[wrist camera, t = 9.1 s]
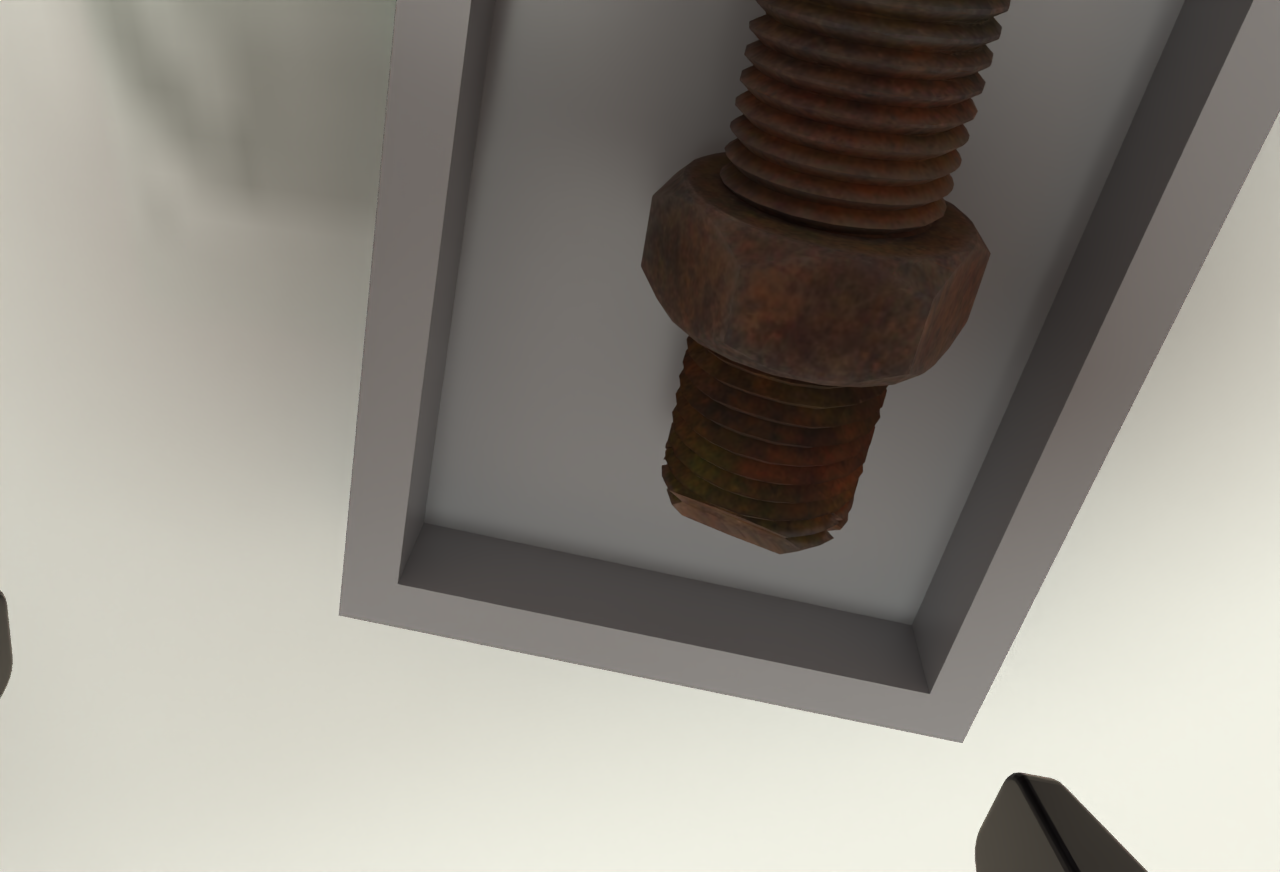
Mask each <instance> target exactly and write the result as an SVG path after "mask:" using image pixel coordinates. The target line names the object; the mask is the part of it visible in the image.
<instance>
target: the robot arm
mask: <svg viewBox="0 0 1280 872" xmlns="http://www.w3.org/2000/svg"><path fill="white" fill-rule="evenodd" d="M12 664H13V657H12V647H11V638H10V629H9V619H8V610H7V603H6V598H5V596H4V594H3V593H2V592H1V591H0V698H1V696H2V694H3V692H4V690H5V688H6V686H7V684H8V681H9V679H10V675H11V671H12ZM975 863H976V872H1148V871H1147V870H1146V869H1145V868H1144V867H1143V866H1142V865H1141V864H1140V863H1139V862H1138V861H1137V860H1136V859H1135V858H1134V857H1133V856H1132V855H1131V854H1130V853H1129V852H1128V851H1127V850H1126V849H1125V848H1124V847H1123V846H1122V845H1121V844H1120V843H1119V842H1118V841H1117V840H1116V839H1115V838H1114V836H1113V835H1112V834H1111V833H1110V832H1109V831H1108V830H1107V829H1106V828H1105V827H1104V826H1103V825H1102V824H1101V823H1100V822H1099V821H1098V820H1097V819H1096V818H1095V817H1094V816H1093V815H1092V814H1091V813H1090V812H1089V811H1088V810H1087V809H1086V808H1085V807H1084V806H1083V805H1082V804H1081V803H1080V802H1079V801H1078V800H1077V798H1076V797H1075V796H1074V795H1073V794H1072V793H1071V792H1070V791H1069V790H1068V789H1067V788H1066V787H1065V786H1064V785H1062V784H1061V783H1060V782H1059V781H1057V780H1055V779H1052V778H1048V777H1042V776H1037V775H1031V774H1026V773H1013V774H1012V775H1010V776H1009V777H1008V778H1007V779H1006V780H1005V782H1004V783H1003V785H1002V787H1001V789H1000V791H999V793H998V795H997V797H996V799H995V801H994V803H993V805H992V807H991V808H990V810H989V812H988V814H987V816H986V818H985V820H984V822H983V824H982V826H981V828H980V830H979V833H978V836H977V840H976V846H975Z"/></svg>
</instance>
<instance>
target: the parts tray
mask: <svg viewBox="0 0 1280 872" xmlns="http://www.w3.org/2000/svg"><path fill="white" fill-rule="evenodd" d="M763 15H766V12H765V11H764V9H763V8H762V7H761V6H760V5H759V4H758V3H757V2H756V1H755V0H396V9H395V20H394V30H393V41H392V52H391V63H390V73H389V84H388V95H387V105H386V116H385V127H384V137H383V148H382V159H381V169H380V180H379V191H378V202H377V212H376V223H375V234H374V244H373V255H372V266H371V276H370V287H369V298H368V308H367V319H366V330H365V341H364V351H363V362H362V373H361V383H360V394H359V405H358V415H357V426H356V437H355V447H354V458H353V469H352V480H351V490H350V501H349V512H348V522H347V533H346V544H345V554H344V565H343V576H342V586H341V597H340V608H339V615H340V616H345V617H350V618H354V619H359V620H364V621H369V622H374V623H379V624H384V625H389V626H394V627H398V628H403V629H408V630H413V631H418V632H423V633H428V634H433V635H437V636H442V637H447V638H452V639H457V640H462V641H467V642H472V643H477V644H481V645H486V646H491V647H496V648H501V649H506V650H511V651H516V652H520V653H525V654H530V655H535V656H540V657H545V658H550V659H555V660H560V661H564V662H569V663H574V664H579V665H584V666H589V667H594V668H599V669H603V670H608V671H613V672H618V673H623V674H628V675H633V676H638V677H643V678H647V679H652V680H657V681H662V682H667V683H672V684H677V685H682V686H686V687H691V688H696V689H701V690H706V691H711V692H716V693H721V694H725V695H730V696H735V697H740V698H745V699H750V700H755V701H760V702H765V703H769V704H774V705H779V706H784V707H789V708H794V709H799V710H804V711H808V712H813V713H818V714H823V715H828V716H833V717H838V718H843V719H848V720H852V721H857V722H862V723H867V724H872V725H877V726H882V727H887V728H891V729H896V730H901V731H906V732H911V733H916V734H921V735H926V736H931V737H935V738H940V739H945V740H950V741H955V742H960V743H963V741H964V739H965V737H966V735H967V733H968V731H969V729H970V727H971V725H972V723H973V721H974V719H975V717H976V715H977V713H978V711H979V709H980V707H981V705H982V703H983V701H984V699H985V697H986V695H987V693H988V691H989V689H990V687H991V685H992V683H993V681H994V679H995V677H996V675H997V673H998V671H999V669H1000V667H1001V665H1002V663H1003V661H1004V659H1005V657H1006V655H1007V653H1008V651H1009V649H1010V647H1011V645H1012V643H1013V641H1014V639H1015V637H1016V635H1017V633H1018V631H1019V629H1020V627H1021V625H1022V623H1023V621H1024V619H1025V617H1026V615H1027V613H1028V611H1029V609H1030V607H1031V605H1032V603H1033V601H1034V599H1035V597H1036V595H1037V593H1038V591H1039V589H1040V587H1041V585H1042V583H1043V581H1044V579H1045V577H1046V575H1047V573H1048V571H1049V569H1050V567H1051V565H1052V563H1053V561H1054V559H1055V557H1056V555H1057V553H1058V552H1059V550H1060V548H1061V546H1062V544H1063V542H1064V540H1065V538H1066V536H1067V534H1068V532H1069V530H1070V528H1071V526H1072V524H1073V522H1074V520H1075V518H1076V516H1077V514H1078V512H1079V510H1080V508H1081V506H1082V504H1083V502H1084V500H1085V498H1086V496H1087V494H1088V492H1089V490H1090V488H1091V486H1092V484H1093V482H1094V480H1095V478H1096V476H1097V474H1098V472H1099V470H1100V468H1101V466H1102V464H1103V462H1104V460H1105V458H1106V456H1107V454H1108V452H1109V450H1110V448H1111V446H1112V444H1113V442H1114V440H1115V438H1116V436H1117V434H1118V432H1119V430H1120V428H1121V426H1122V424H1123V422H1124V420H1125V418H1126V416H1127V414H1128V412H1129V410H1130V408H1131V406H1132V404H1133V402H1134V400H1135V398H1136V396H1137V394H1138V392H1139V390H1140V388H1141V386H1142V384H1143V382H1144V380H1145V378H1146V376H1147V374H1148V372H1149V370H1150V368H1151V366H1152V364H1153V362H1154V360H1155V358H1156V356H1157V354H1158V352H1159V350H1160V348H1161V346H1162V344H1163V342H1164V340H1165V338H1166V336H1167V334H1168V332H1169V330H1170V328H1171V326H1172V324H1173V322H1174V321H1175V319H1176V317H1177V315H1178V313H1179V311H1180V309H1181V307H1182V305H1183V303H1184V301H1185V299H1186V297H1187V295H1188V293H1189V291H1190V289H1191V287H1192V285H1193V283H1194V281H1195V279H1196V277H1197V275H1198V273H1199V271H1200V269H1201V267H1202V265H1203V263H1204V261H1205V259H1206V257H1207V255H1208V253H1209V251H1210V249H1211V247H1212V245H1213V243H1214V241H1215V239H1216V237H1217V235H1218V233H1219V231H1220V229H1221V227H1222V225H1223V223H1224V221H1225V219H1226V217H1227V215H1228V213H1229V211H1230V209H1231V207H1232V205H1233V203H1234V201H1235V199H1236V197H1237V195H1238V193H1239V191H1240V189H1241V187H1242V185H1243V183H1244V181H1245V179H1246V177H1247V175H1248V173H1249V171H1250V169H1251V167H1252V165H1253V163H1254V161H1255V159H1256V157H1257V155H1258V153H1259V151H1260V149H1261V147H1262V145H1263V143H1264V141H1265V139H1266V137H1267V135H1268V133H1269V131H1270V129H1271V127H1272V125H1273V123H1274V121H1275V119H1276V117H1277V115H1278V113H1279V111H1280V0H1011V1H1010V7H1009V9H1008V11H1007V12H1004V13H1002V14H999V15H997V16H994V18H995V19H996V20H997V22H998V23H999V24H1000V25H1001V26H1002V30H1001V35H1000V38H999V39H998V40H996V41H993V42H991V43H988V44H986V45H987V47H988V48H989V49H990V50H991V51H992V52H993V59H992V63H991V66H990V67H988V68H986V69H984V70H981V71H979V72H978V73H979V74H980V75H981V77H982V78H983V79H984V81H985V82H986V83H985V86H984V89H983V91H982V94H979V95H977V96H974V97H972V98H971V99H972V100H973V102H974V104H975V106H976V108H977V110H978V112H977V114H976V116H975V117H974V119H973V120H971V121H969V122H967V123H964V124H963V125H964V126H965V127H966V129H967V130H968V133H969V135H970V136H969V140H968V142H967V143H966V144H964V145H963V146H961V147H959V148H957V149H956V150H957V151H958V152H959V154H960V156H961V159H962V161H961V165H960V167H959V168H958V169H957V170H956V171H954V172H952V173H950V175H951V177H952V179H953V182H954V186H953V190H952V191H951V192H950V193H949V194H948V195H947V196H945V197H943V199H944V200H946V201H948V202H950V203H952V204H953V205H955V206H956V207H957V208H958V209H959V210H960V211H962V212H963V213H964V214H965V215H966V216H967V217H968V218H969V219H970V220H971V221H972V222H973V224H974V225H975V227H976V229H977V231H978V232H979V234H980V236H981V237H982V239H983V241H984V243H985V244H986V246H987V248H988V249H989V251H990V253H991V254H990V257H989V260H988V263H987V266H986V269H985V272H984V275H983V278H982V281H981V283H980V286H979V289H978V292H977V295H976V298H975V301H974V304H973V307H972V310H971V313H970V315H969V318H968V321H967V323H966V324H965V326H964V327H963V329H962V330H961V332H960V333H959V335H958V336H957V337H956V339H955V340H954V342H953V343H952V345H951V346H950V348H949V349H948V350H947V351H946V352H945V354H944V355H943V356H942V357H941V358H940V359H939V360H938V362H937V363H936V364H935V365H934V366H933V367H932V368H930V369H929V370H928V371H926V372H925V373H924V374H921V375H919V376H916V377H914V378H911V379H908V380H905V381H903V382H900V383H897V384H895V385H888V387H887V388H886V389H887V393H886V396H885V400H884V403H883V407H882V408H880V419H879V420H878V422H877V423H876V425H875V430H874V434H873V437H872V441H871V444H870V446H869V449H868V453H867V456H866V460H865V463H863V473H862V474H861V475H860V477H859V478H858V479H859V480H858V484H857V487H856V491H855V494H854V501H853V505H852V508H851V510H850V511H849V513H848V521H847V523H846V524H845V525H844V526H843V528H842V529H841V530H833V531H828V532H829V533H830V534H831V535H832V536H833V537H834V539H832V540H830V541H828V542H826V543H824V544H822V545H820V546H816V547H812V548H808V549H805V550H801V551H798V552H792V553H786V554H777V553H775V552H772V551H769V550H767V549H764V548H762V547H759V546H756V545H754V544H751V543H749V542H746V541H743V540H741V539H738V538H736V537H733V536H731V535H728V534H725V533H723V532H721V531H718V530H716V529H713V528H711V527H709V526H706V525H704V524H701V523H699V522H697V521H694V520H692V519H689V518H687V517H685V516H682V515H681V514H680V513H679V512H678V511H677V510H676V509H675V508H674V506H673V505H672V504H671V501H670V498H669V495H668V492H667V486H666V484H665V482H664V480H663V477H662V465H666V464H667V462H666V460H664V457H665V451H666V448H665V446H666V442H667V441H668V437H669V433H670V428H671V424H672V422H673V417H672V411H673V410H674V408H675V406H676V405H677V402H676V392H677V390H678V389H679V387H680V379H679V375H680V373H681V372H682V370H683V368H684V367H683V358H684V355H685V352H686V350H687V349H688V346H687V340H686V339H687V338H688V336H689V335H688V334H687V333H685V332H684V331H683V330H682V329H681V328H679V327H678V326H677V325H676V324H675V323H673V322H672V320H671V319H670V318H669V316H668V315H667V313H666V312H665V310H664V309H663V307H662V306H661V304H660V303H659V301H658V300H657V298H656V296H655V294H654V292H653V290H652V288H651V286H650V284H649V282H648V280H647V278H646V276H645V274H644V272H643V270H642V268H641V261H642V255H643V249H644V243H645V237H646V231H647V225H648V219H649V213H650V207H651V201H652V196H653V195H654V194H655V193H656V192H657V191H658V190H659V189H660V188H661V187H662V186H663V185H664V184H665V183H666V182H667V181H668V180H669V179H670V178H671V177H672V176H673V175H674V174H676V173H677V172H678V171H679V170H681V169H682V168H683V167H685V166H686V165H688V164H689V163H690V162H692V161H693V160H695V159H697V158H700V157H703V156H707V155H711V154H715V153H721V152H725V147H726V145H727V144H728V143H729V142H731V141H733V140H735V139H736V138H737V137H736V135H735V134H734V133H733V132H732V130H731V128H730V123H731V121H733V120H734V119H735V118H737V117H739V116H741V115H743V113H742V112H741V111H740V110H739V109H738V108H737V107H736V106H735V100H736V97H737V96H739V95H740V94H742V93H744V92H746V91H748V89H747V88H746V87H745V85H744V84H743V83H742V82H741V81H740V76H741V73H742V70H744V69H746V68H748V67H750V66H753V64H752V63H751V62H750V61H749V59H748V58H747V57H746V56H745V55H744V53H745V49H746V46H747V45H748V44H750V43H753V42H755V41H757V40H759V39H758V38H757V36H756V35H755V34H754V33H753V32H752V31H751V30H750V29H749V21H751V20H754V19H756V18H758V17H761V16H763Z"/></svg>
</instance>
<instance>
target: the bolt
mask: <svg viewBox="0 0 1280 872" xmlns="http://www.w3.org/2000/svg"><path fill="white" fill-rule="evenodd" d="M755 1H756V2H757V3H758V4H759V5H760V6H761V7H762V8H763V9H764V11H765V12H766V15H763V16H761V17H758V18H756V19H754V20H751V21H749V29H750V30H751V31H752V32H753V33H754V34H755V35H756V36H757V38H758V39H759V40H757V41H755V42H753V43H750V44H748V45H747V46H746V49H745V53H744V55H745V56H746V57H747V58H748V59H749V61H750V62H751V63H752V64H753V66H750V67H748V68H746V69H744V70H742V73H741V76H740V81H741V82H742V83H743V84H744V85H745V87H746V88H747V89H748V91H746V92H744V93H742V94H740V95H739V96H737V97H736V100H735V106H736V107H737V108H738V109H739V110H740V111H741V112H742V113H743V115H741V116H739V117H737V118H735V119H734V120H733V121H731V123H730V128H731V130H732V132H733V133H734V134H735V135H736V137H737V138H736V139H735V140H733V141H731V142H729V143H728V144H727V145H726V147H725V152H721V153H715V154H711V155H707V156H703V157H700V158H697V159H695V160H693V161H692V162H690V163H689V164H688V165H686V166H685V167H683V168H682V169H681V170H679V171H678V172H677V173H676V174H674V175H673V176H672V177H671V178H670V179H669V180H668V181H667V182H666V183H665V184H664V185H663V186H662V187H661V188H660V189H659V190H658V191H657V192H656V193H655V194H654V195H653V196H652V201H651V207H650V213H649V219H648V225H647V231H646V237H645V243H644V249H643V255H642V261H641V268H642V270H643V272H644V274H645V276H646V278H647V280H648V282H649V284H650V286H651V288H652V290H653V292H654V294H655V296H656V298H657V300H658V301H659V303H660V304H661V306H662V307H663V309H664V310H665V312H666V313H667V315H668V316H669V318H670V319H671V320H672V322H673V323H675V324H676V325H677V326H678V327H679V328H681V329H682V330H683V331H684V332H685V333H687V334H688V335H689V336H688V338H687V339H686V340H687V346H688V349H687V350H686V352H685V355H684V358H683V367H684V368H683V370H682V372H681V373H680V375H679V379H680V387H679V389H678V390H677V392H676V402H677V405H676V406H675V408H674V410H673V411H672V417H673V422H672V424H671V428H670V433H669V437H668V441H667V442H666V446H665V448H666V451H665V457H664V460H666V462H667V464H666V465H662V477H663V480H664V482H665V484H666V486H667V492H668V495H669V498H670V501H671V504H672V505H673V506H674V508H675V509H676V510H677V511H678V512H679V513H680V514H681V515H682V516H685V517H687V518H689V519H692V520H694V521H697V522H699V523H701V524H704V525H706V526H709V527H711V528H713V529H716V530H718V531H721V532H723V533H725V534H728V535H731V536H733V537H736V538H738V539H741V540H743V541H746V542H749V543H751V544H754V545H756V546H759V547H762V548H764V549H767V550H769V551H772V552H775V553H777V554H786V553H792V552H798V551H801V550H805V549H808V548H812V547H816V546H820V545H822V544H824V543H826V542H828V541H830V540H832V539H834V537H833V536H832V535H831V534H830V533H829V532H828V531H833V530H841V529H842V528H843V526H844V525H845V524H846V523H847V521H848V513H849V511H850V510H851V508H852V505H853V501H854V494H855V491H856V487H857V484H858V480H859V479H858V478H859V477H860V475H861V474H862V473H863V463H865V460H866V456H867V453H868V449H869V446H870V444H871V441H872V437H873V434H874V430H875V425H876V423H877V422H878V420H879V419H880V408H882V407H883V403H884V400H885V396H886V393H887V389H886V388H887V387H888V385H895V384H897V383H900V382H903V381H905V380H908V379H911V378H914V377H916V376H919V375H921V374H924V373H925V372H926V371H928V370H929V369H930V368H932V367H933V366H934V365H935V364H936V363H937V362H938V360H939V359H940V358H941V357H942V356H943V355H944V354H945V352H946V351H947V350H948V349H949V348H950V346H951V345H952V343H953V342H954V340H955V339H956V337H957V336H958V335H959V333H960V332H961V330H962V329H963V327H964V326H965V324H966V323H967V321H968V318H969V315H970V313H971V310H972V307H973V304H974V301H975V298H976V295H977V292H978V289H979V286H980V283H981V281H982V278H983V275H984V272H985V269H986V266H987V263H988V260H989V257H990V254H991V253H990V251H989V249H988V248H987V246H986V244H985V243H984V241H983V239H982V237H981V236H980V234H979V232H978V231H977V229H976V227H975V225H974V224H973V222H972V221H971V220H970V219H969V218H968V217H967V216H966V215H965V214H964V213H963V212H962V211H960V210H959V209H958V208H957V207H956V206H955V205H953V204H952V203H950V202H948V201H946V200H944V199H943V197H945V196H947V195H948V194H949V193H950V192H951V191H952V190H953V186H954V182H953V179H952V177H951V175H950V173H952V172H954V171H956V170H957V169H958V168H959V167H960V165H961V161H962V159H961V156H960V154H959V152H958V151H957V150H956V149H957V148H959V147H961V146H963V145H964V144H966V143H967V142H968V140H969V136H970V135H969V133H968V130H967V129H966V127H965V126H964V125H963V124H964V123H967V122H969V121H971V120H973V119H974V117H975V116H976V114H977V112H978V110H977V108H976V106H975V104H974V102H973V100H972V99H971V98H972V97H974V96H977V95H979V94H982V91H983V89H984V86H985V83H986V82H985V81H984V79H983V78H982V77H981V75H980V74H979V73H978V72H979V71H981V70H984V69H986V68H988V67H990V66H991V63H992V59H993V52H992V51H991V50H990V49H989V48H988V47H987V45H986V44H988V43H991V42H993V41H996V40H998V39H999V38H1000V35H1001V30H1002V26H1001V25H1000V24H999V23H998V22H997V20H996V19H995V18H994V16H997V15H999V14H1002V13H1004V12H1007V11H1008V9H1009V7H1010V1H1011V0H755Z"/></svg>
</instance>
